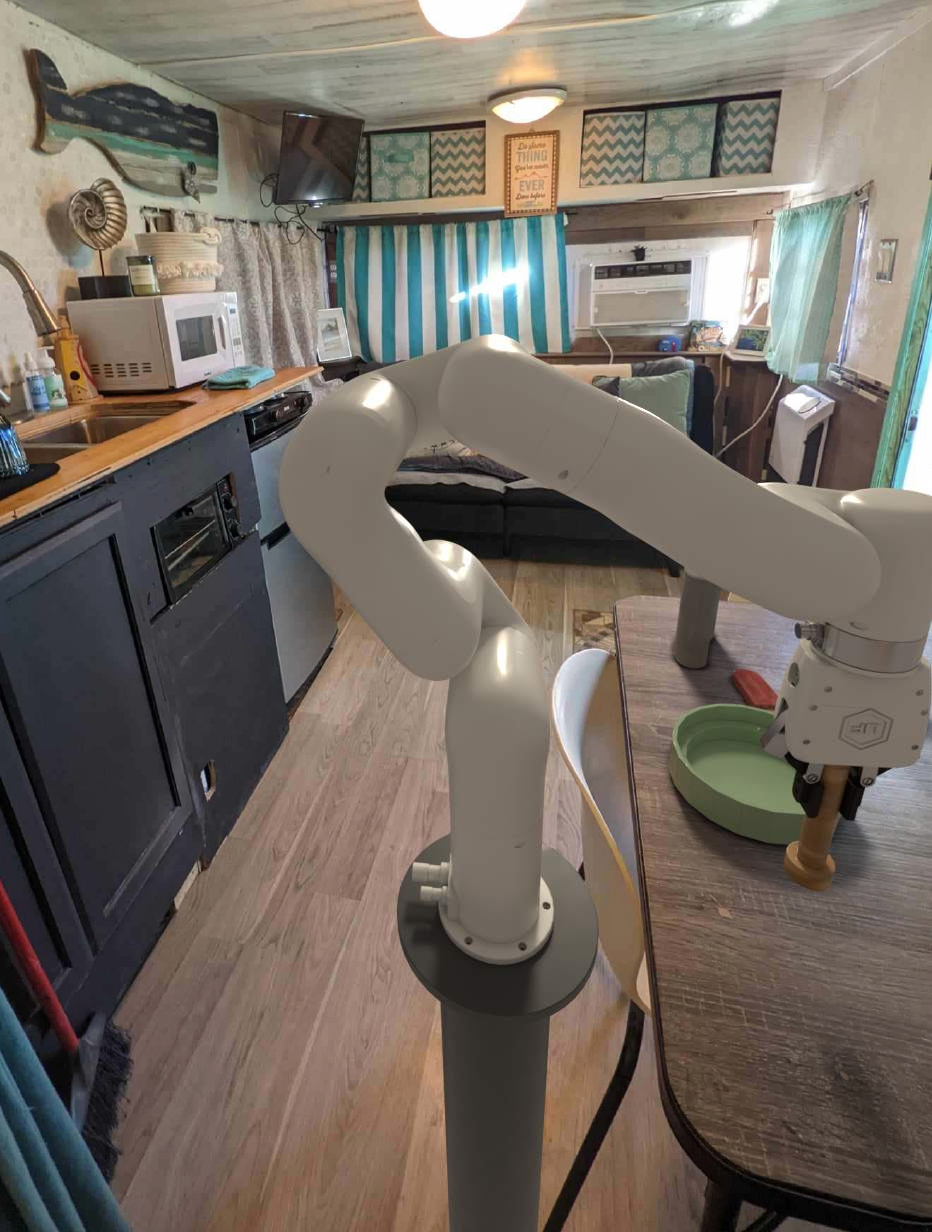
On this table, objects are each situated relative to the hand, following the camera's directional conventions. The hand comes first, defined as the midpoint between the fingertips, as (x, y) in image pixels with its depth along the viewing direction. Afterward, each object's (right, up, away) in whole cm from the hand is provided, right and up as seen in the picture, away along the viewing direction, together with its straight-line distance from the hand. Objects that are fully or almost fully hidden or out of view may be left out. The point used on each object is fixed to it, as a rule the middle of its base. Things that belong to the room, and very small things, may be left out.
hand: (823, 806), depth 58 cm
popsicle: (+18, -3, +42) cm, 46 cm away
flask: (+15, +3, +57) cm, 59 cm away
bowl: (+8, -9, +26) cm, 29 cm away
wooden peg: (0, -8, +3) cm, 9 cm away
